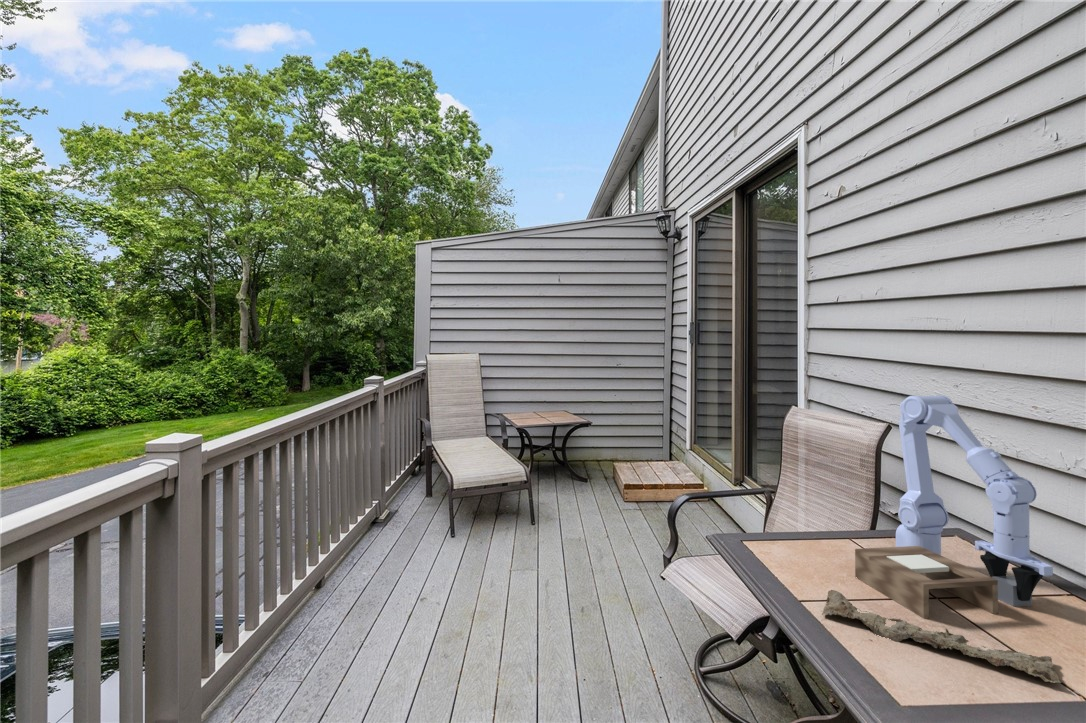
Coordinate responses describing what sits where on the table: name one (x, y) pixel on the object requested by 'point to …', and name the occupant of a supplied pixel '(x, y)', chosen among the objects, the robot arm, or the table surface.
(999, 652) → the tree branch
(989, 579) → the box
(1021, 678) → the table surface
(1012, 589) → the granite block
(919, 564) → the trapdoor
